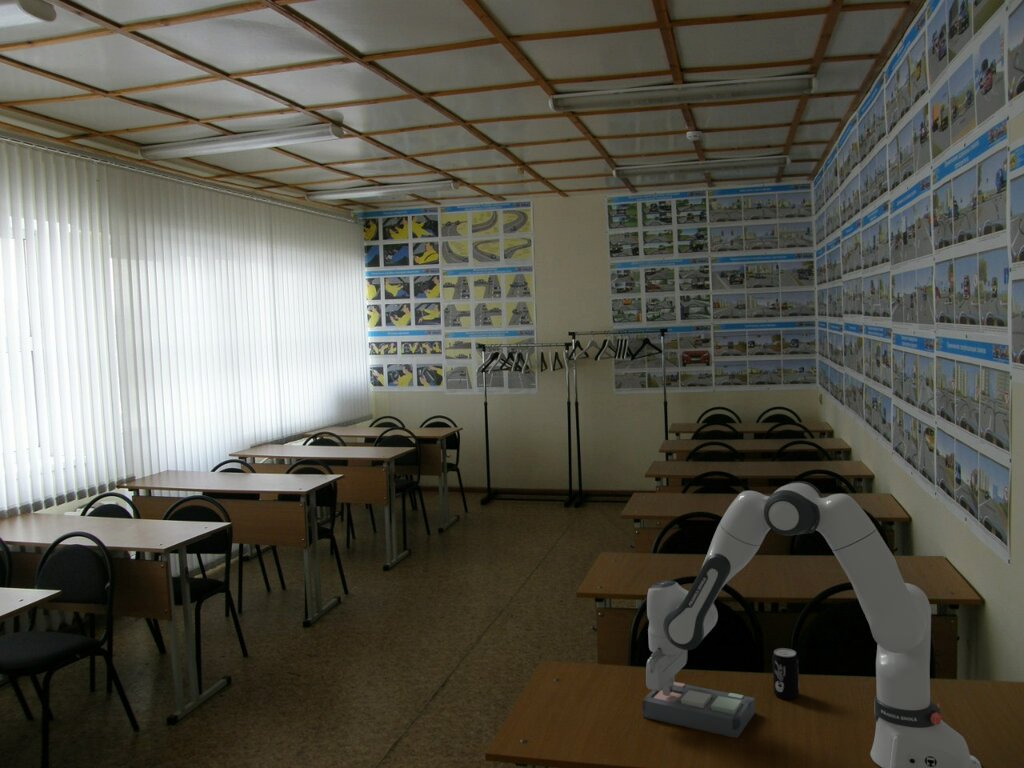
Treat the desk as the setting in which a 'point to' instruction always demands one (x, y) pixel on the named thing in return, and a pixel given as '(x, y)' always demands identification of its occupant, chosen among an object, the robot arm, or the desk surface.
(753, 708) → the keypad
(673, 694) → the rose key
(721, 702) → the sage key
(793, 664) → the beverage can
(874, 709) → the robot arm
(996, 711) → the desk surface
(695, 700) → the ivory key
